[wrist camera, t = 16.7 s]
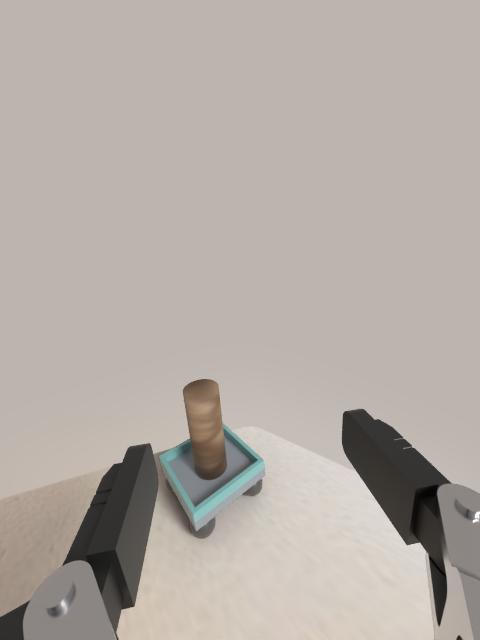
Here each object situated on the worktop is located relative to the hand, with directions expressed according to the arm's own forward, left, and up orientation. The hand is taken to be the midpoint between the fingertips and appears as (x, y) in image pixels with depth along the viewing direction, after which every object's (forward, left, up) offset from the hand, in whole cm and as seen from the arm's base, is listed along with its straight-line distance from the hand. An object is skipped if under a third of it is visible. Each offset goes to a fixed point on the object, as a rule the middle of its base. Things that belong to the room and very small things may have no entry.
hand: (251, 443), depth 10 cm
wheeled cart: (+8, +22, -30) cm, 38 cm away
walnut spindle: (+8, +22, -25) cm, 34 cm away
